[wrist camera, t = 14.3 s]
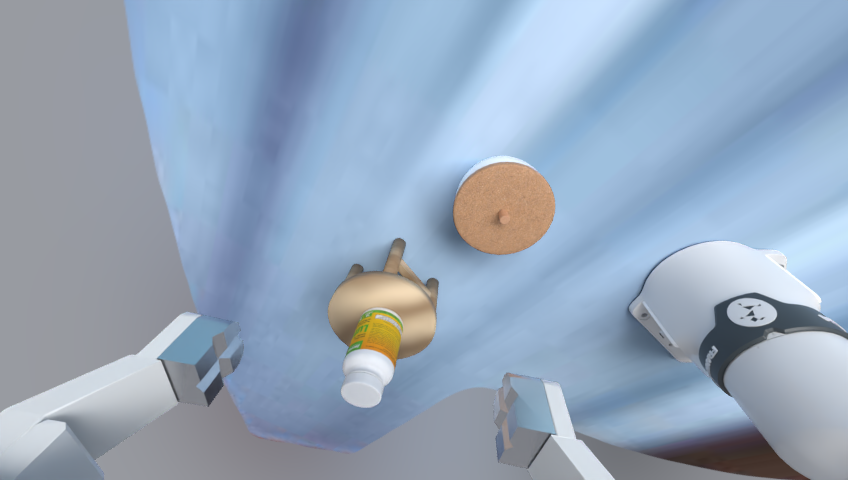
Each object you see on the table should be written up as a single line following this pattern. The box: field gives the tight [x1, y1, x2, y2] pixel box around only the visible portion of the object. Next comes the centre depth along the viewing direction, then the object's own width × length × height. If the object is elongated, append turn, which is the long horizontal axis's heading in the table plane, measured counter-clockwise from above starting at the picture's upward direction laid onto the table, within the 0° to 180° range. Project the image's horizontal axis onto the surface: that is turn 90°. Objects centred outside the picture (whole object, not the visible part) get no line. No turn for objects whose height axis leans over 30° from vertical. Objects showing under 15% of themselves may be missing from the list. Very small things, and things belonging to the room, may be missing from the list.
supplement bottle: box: [341, 307, 403, 408], centre depth 37 cm, size 6×6×10 cm
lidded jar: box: [453, 156, 555, 255], centre depth 37 cm, size 11×11×9 cm
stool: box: [328, 238, 439, 359], centre depth 46 cm, size 14×14×10 cm
